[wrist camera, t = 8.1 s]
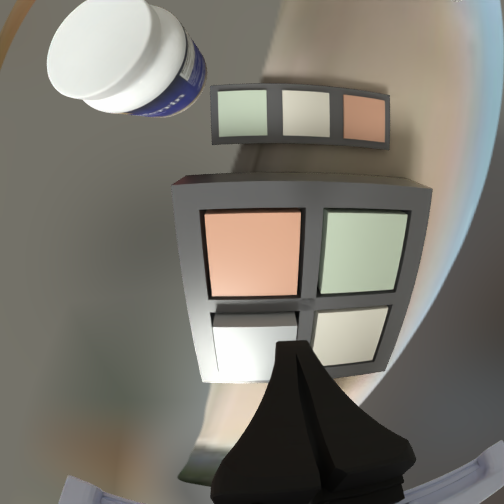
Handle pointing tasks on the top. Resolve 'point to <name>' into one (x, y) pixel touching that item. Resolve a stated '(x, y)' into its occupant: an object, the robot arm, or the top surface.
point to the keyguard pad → (308, 294)
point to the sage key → (360, 249)
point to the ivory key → (347, 334)
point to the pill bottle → (126, 59)
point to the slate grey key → (250, 342)
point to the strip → (299, 115)
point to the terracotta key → (253, 251)
